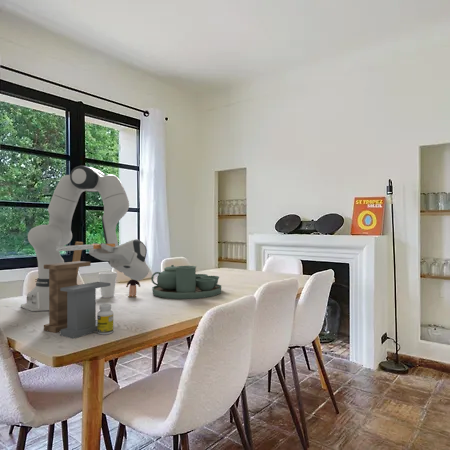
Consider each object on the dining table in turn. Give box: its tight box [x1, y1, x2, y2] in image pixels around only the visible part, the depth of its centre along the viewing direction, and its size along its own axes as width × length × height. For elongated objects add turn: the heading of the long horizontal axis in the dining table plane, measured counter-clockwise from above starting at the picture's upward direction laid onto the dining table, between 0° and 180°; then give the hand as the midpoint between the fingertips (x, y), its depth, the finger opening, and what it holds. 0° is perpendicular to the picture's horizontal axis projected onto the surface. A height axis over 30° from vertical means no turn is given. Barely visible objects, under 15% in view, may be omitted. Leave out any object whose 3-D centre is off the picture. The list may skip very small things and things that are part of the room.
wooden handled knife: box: [56, 243, 115, 252], centre depth 138 cm, size 3×25×2 cm, turn 150°
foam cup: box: [98, 271, 118, 299], centre depth 195 cm, size 10×9×13 cm
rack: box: [59, 281, 110, 339], centre depth 129 cm, size 7×16×16 cm, turn 150°
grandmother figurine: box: [125, 278, 141, 298], centre depth 194 cm, size 8×4×13 cm, turn 101°
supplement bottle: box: [96, 303, 114, 336], centre depth 127 cm, size 5×5×10 cm
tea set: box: [150, 264, 222, 300], centre depth 206 cm, size 40×40×16 cm
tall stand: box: [43, 260, 92, 334], centre depth 135 cm, size 7×15×24 cm, turn 150°
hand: (97, 244), depth 142 cm, fingers closed on wooden handled knife, 3 cm apart
